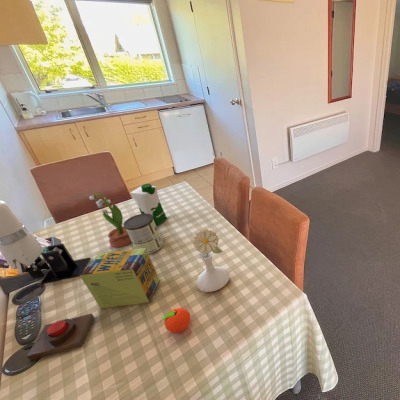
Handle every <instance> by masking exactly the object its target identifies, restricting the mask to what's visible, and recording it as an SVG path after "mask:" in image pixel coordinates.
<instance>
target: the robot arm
mask: <svg viewBox="0 0 400 400" xmlns="http://www.w3.org/2000/svg"><path fill="white" fill-rule="evenodd" d="M0 253H1V255H2V257H3V258H4V260H5V261H6V263H7V264H8V265H9V267H10V268H11V269H13V270H16V271H17V274H19V275H20V274H23V273H28V274H29V275H30V277H31V278H32V279H33V280H37V279H42V278H45V276H46V274H45V273H43V272H44V271H41V270H40V269H39V268H37V267H36V266H35V264H34V263H39V262H41V261H42V260H43V259H44V257H43V256H42V254H43V253H44V247H43V246H42V244H41V243H40V242H39V240H38V239H37V238H36V237H35V236H34V235H33V234H32V233H31V232H29V231H28V230H27V228H26V227H25V226H24V224H23V223H22V222H21V220H20V219H19V218H18V217H17V215H16V214H15V212H14V211H13V210H12V208H11V207H10V206H9V204H8V203H7V202H6V201H3V200H0ZM30 266H31V267H30ZM42 269H47V270H46V271H50V269H51V267H50V266H49V264H48V263H47V262H45V263H44V264H42Z"/></svg>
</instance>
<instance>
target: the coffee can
mask: <svg viewBox="0 0 400 400" xmlns="http://www.w3.org/2000/svg"><path fill="white" fill-rule="evenodd" d="M122 226H124V227H125V229H126V231H127V233H128V235H129V237H130V239H131V241H132V243H131V244H132V245H133V247H134V249H141V248H146V250H147V252H148V254H149V255H150V254H154V253H155V252H157V251H158V250H160V249H162V248H163V245H164V241H163V239H162V237H161V235H160V232H159V229H158V226H156V225H155V222H154V220H153V216H152V215H151V214H141V213H139V214H135V215H132V216H130V217H128V218H127V219H126V220H125V221H124V222H123V223H122Z"/></svg>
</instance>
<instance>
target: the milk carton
mask: <svg viewBox="0 0 400 400" xmlns="http://www.w3.org/2000/svg"><path fill="white" fill-rule="evenodd" d="M129 195H131V196H132V198H133V200H135V202H136V205H137V207H138V210H139V212H140V214H151V215H152V216H153V220H154V222H155V225H156V227H158V226H159V225H160V224H162V223H163V222H164V221H165V220H166V219H167V218H168V217H167V215H166V213H165V211H164V208H163V206H162V202H161V200H160V197H159V194H158V188H157V185H152V184H151V183H145V184H142V185H140V186H138V187H137V188H136V189H134V190H132V191H130V193H129Z"/></svg>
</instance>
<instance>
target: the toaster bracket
mask: <svg viewBox="0 0 400 400" xmlns="http://www.w3.org/2000/svg"><path fill="white" fill-rule="evenodd" d="M55 247H57V248H59V249H61V250H63V251H62V252H61V254H60V253H59V251H58V250H56V251H51V250H53V249H54V248H55ZM47 250H48V251H45V252H43V254H42V256H43V257H44V259H45V260H46V263H47V264H48V266H49V267H50V269H51V270H50V269H49V270H48V272H47V273H46V274H45V276H44V277H43V279H42V281H41V282H40V285H45V284H49V283H54V282H59V281H63V280H69V279H72V278H77V277H80V275H81V274H82V272H83V271H84V270H85V269H86V268H87V267H88V265H89V263H90V261H91V257H86V258H80V259H76V260H74V258H73V256H72V255H71V253H70V252H69V251H68V249H67V247H66V246H65V245H64V243H58V244H52V245H48V246H47ZM50 251H51V252H50Z"/></svg>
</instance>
